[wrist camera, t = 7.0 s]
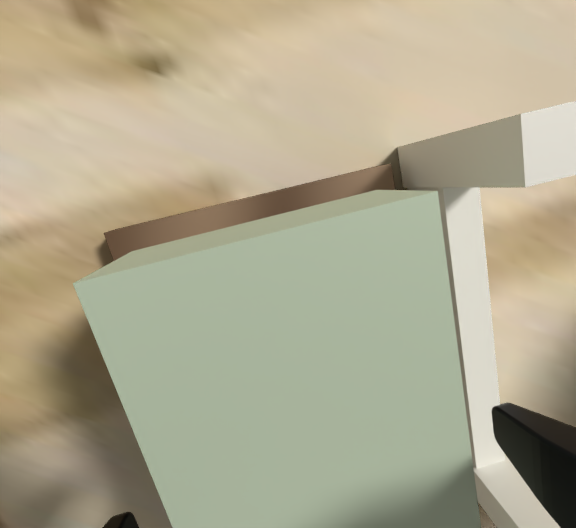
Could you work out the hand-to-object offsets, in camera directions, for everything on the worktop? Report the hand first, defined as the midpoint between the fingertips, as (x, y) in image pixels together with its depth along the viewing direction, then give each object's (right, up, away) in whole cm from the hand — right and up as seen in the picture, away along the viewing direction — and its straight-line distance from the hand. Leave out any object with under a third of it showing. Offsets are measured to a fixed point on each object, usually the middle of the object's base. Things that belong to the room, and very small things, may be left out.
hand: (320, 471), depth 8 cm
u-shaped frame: (+6, +3, +6) cm, 9 cm away
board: (0, 0, +2) cm, 2 cm away
